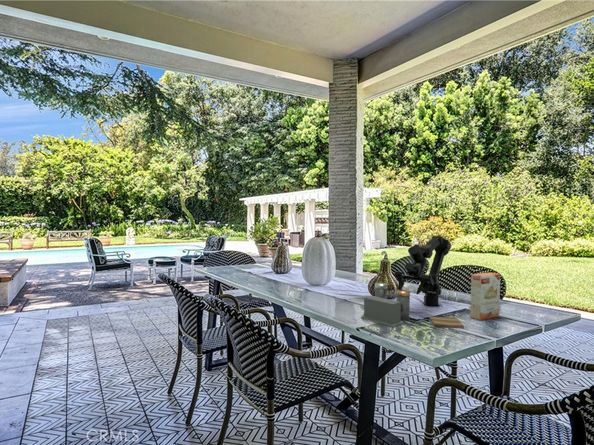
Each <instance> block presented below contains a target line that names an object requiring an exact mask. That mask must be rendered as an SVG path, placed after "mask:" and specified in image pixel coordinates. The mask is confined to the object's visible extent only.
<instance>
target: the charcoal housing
mask: <svg viewBox="0 0 594 445" xmlns="http://www.w3.org/2000/svg"><path fill="white" fill-rule="evenodd" d="M360 318H361V319H363V320H366V321H370V322H374V323H376V322H377V324H380V325H383V324H384V326H386V327H390V328H395V327H398V326H401V325H403V324H404V323H405V322H404V321H403V320H401V302H398V301H396V300H394V299H390V298H389V299H388V298H387V299H384V298H380V297H375V295H370V296H366V297H364V298H363V315H361V317H360Z"/></svg>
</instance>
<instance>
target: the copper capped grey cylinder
mask: <svg viewBox="0 0 594 445" xmlns="http://www.w3.org/2000/svg"><path fill="white" fill-rule="evenodd" d="M395 292H396V293H395V295H396V300H395V301H398V302H401V321H409V320H410V313H411V311H410V303H411V302H410V298H411V297H410V296H411V291H410V290H408V289H401V290H398V289H396V291H395Z"/></svg>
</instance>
